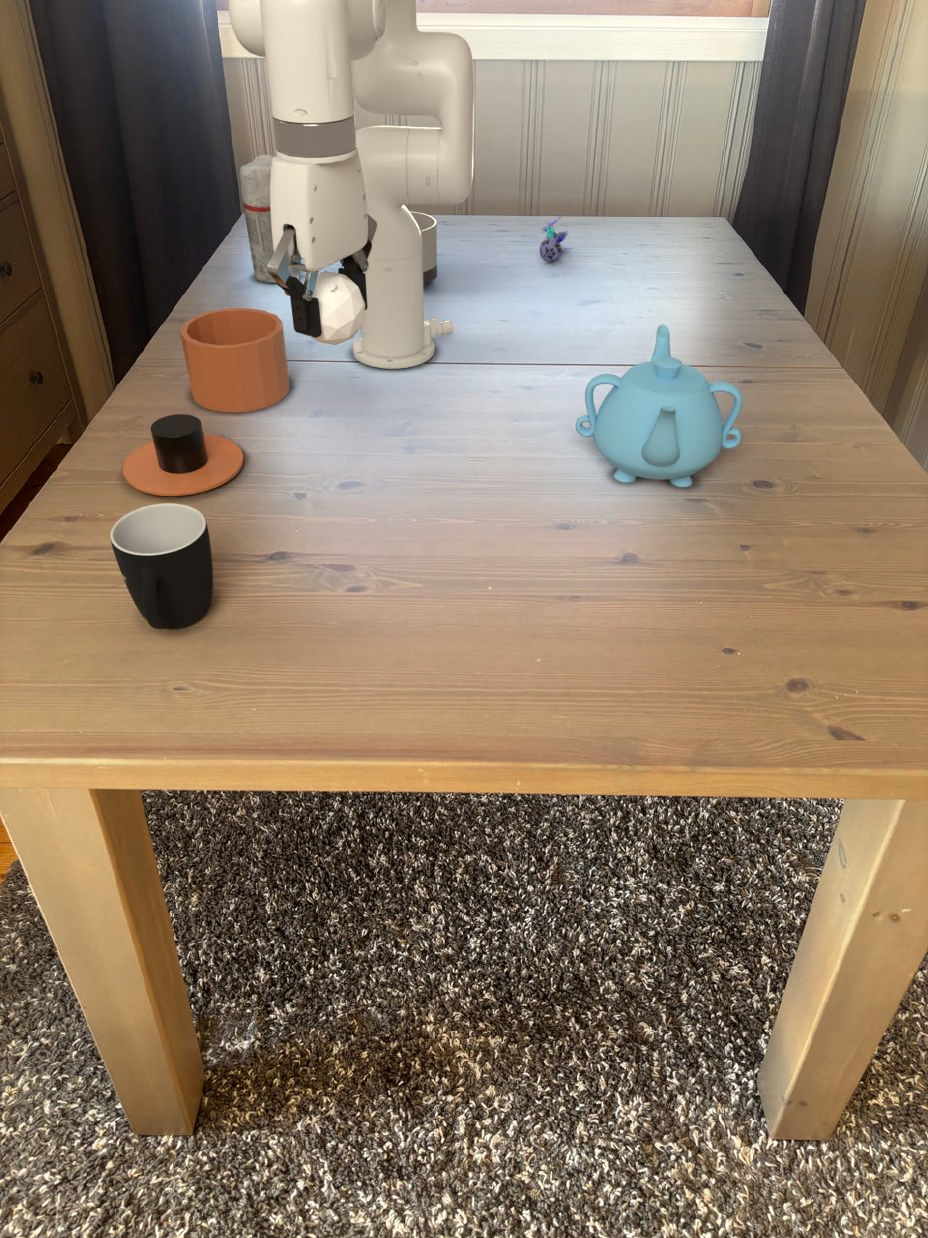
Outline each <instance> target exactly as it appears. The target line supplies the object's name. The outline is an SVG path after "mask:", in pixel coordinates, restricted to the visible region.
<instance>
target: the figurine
mask: <svg viewBox="0 0 928 1238" xmlns="http://www.w3.org/2000/svg"><path fill="white" fill-rule="evenodd" d="M561 217H563V216H560V217H558V218H556V219H554V220H553V221H551V222H547V223H546V226H544V227H543V228H541V232H544V233H546V238H544V239H543V240H542V241H541V242H540V246H539V254H540V257H541V258H542V259H543V260H544V261H545V262H546V263H548V264H550V263H554V262H555V261H557V260H559V259H560V257H562V254H563V251H567V250H572V249H573V247H565V248H562V246H561V244H560V243H562V242H564V241H565V240H566V238H567V237H568V235H569V232H568V231H569V230H568V229H567V230H564V231H559V232H558V233H557V232H556V230H555V226H554V224H556V222H558V220H560V219H561Z"/></svg>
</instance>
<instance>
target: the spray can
mask: <svg viewBox="0 0 928 1238" xmlns="http://www.w3.org/2000/svg"><path fill="white" fill-rule="evenodd" d="M274 157H275V156H272V155H271V154H260V155H258V156H257V157H255V158H253V160H252V162H251V161H250V162H249V163H247V164H243V165H241V167H239V179H240V180H239V181H240V193H241V194H240V195H241V201H242V205H243V213H244V219H245V223H246V228H247V229H246V231H247V236H248V242H249V243H248V244H249V249H250V254H251V262H252V269H253V273H254V276H255V280H257V281H259V282H262V283H265V284H277V282H276V281H275V280H274V278H273V277H272V276H271V275H270V274H269V273H268V271H267V266H268V264H269V262H270V260H271V258H272V256H273V254H274V249H273V239H272V227H271V210H270V179H271V165H272V158H274Z"/></svg>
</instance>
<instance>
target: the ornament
mask: <svg viewBox="0 0 928 1238" xmlns="http://www.w3.org/2000/svg"><path fill="white" fill-rule="evenodd" d="M313 297H315V298H318V301H319V310H320V321H321V331H322V333H321V336H319V337H317V338H315V337H311V338H312V340H314V341H315V342H316V343H321V344H327V345H331V346H337V345H340V344H342V343H344V342H347V341H349V340H351V339H353V338H354V337H355V336H356V335H357V334H358V332H359V331H360V329H362V325H363V321H364V312H365V302H364V300H363V297H362V295H361V292H360V290H359V287H358V286H357V285H356V284H355V283H354V282H352V281H351V280H350V279H349V278H348V277H347V276H346V275H344V274H339V273H338V272H332V271H328V270H324V271H322V272H318V276H317V281H316V286H315V291H314V295H313Z"/></svg>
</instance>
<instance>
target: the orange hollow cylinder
mask: <svg viewBox="0 0 928 1238" xmlns="http://www.w3.org/2000/svg"><path fill="white" fill-rule="evenodd" d="M284 332H285V331H284V324H283V320H281V319H280V317H278V316H277V315H276V314H274V313H271V312H269V311H267V310H263V309H255V308H249V307H235V308H229V307H228V308H221V309H217V310H210V311H206V312H203V313H200V314H198V315H196V316H195V315H194V316H192V318H190V319H188V320H186V321H185V322H184V323H183V324H182V326H181V329H180V332H179V335H180V340H181V344H182V350H183V356H184V358H185V359H184V360H185V361H184V362H185V366H186V371H187V376H188V382H189V387H190V392H191V395H192V398H193V399H194V401H195V402H196V404H198V405H199V406H200V407H202V408H204V409H207V410H211V411H214V412H218V413H219V412H220V413H230V414H233V413H234V414H235V413H238V414H239V413H249V412H254V411H258V410H259V411H260V410H264V409H266V408H269V407H271V406H274V405H276V404H278V403H280V402H281V401H282V400H284V399H285V398H286V396H287V395H288V394H289V392H290V375H289V366H288V357H287V351H286V350H287V349H286V340H285V333H284Z"/></svg>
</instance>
